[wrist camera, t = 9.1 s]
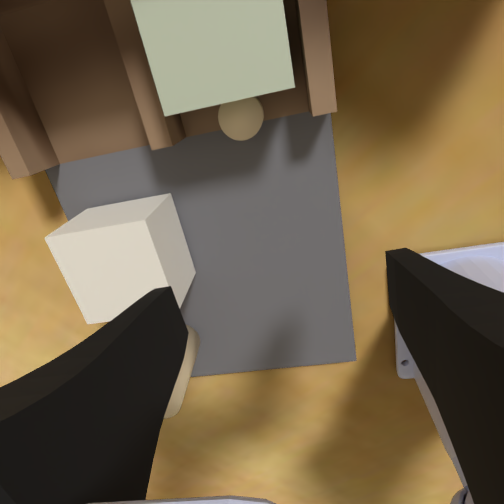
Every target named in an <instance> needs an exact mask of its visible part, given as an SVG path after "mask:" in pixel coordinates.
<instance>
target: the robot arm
mask: <svg viewBox="0 0 504 504" xmlns="http://www.w3.org/2000/svg"><path fill="white" fill-rule="evenodd" d="M385 252H386V265H387V278H388V292H389V305H390V308H391V311H392V313H393V316H394V324H395V348H396V371H397V374H398V376H399V377H400V378H402V379H409V378H415V381H416V383H417V385H418V387H419V390H420V392H421V394H422V397H423V399H424V401H425V404H426V406H427V408H428V410H429V413H430V415H431V417H432V420H433V422H434V424H435V427H436V429H437V431H438V433H439V436H440V438H441V440H442V443H443V445H444V447H445V449H446V451H447V453H448V455H449V457H450V458H451V460H452V462H453V464H454V466H455V468H456V471H457V473H458V475H459V477H460V480H461V482H462V484H463V486H464V488H463V489H461V490H459V491H458V492H457V493H456V494H455V495H454V496H453V498H452V500H451V503H450V504H504V242H499V243H492V244H484V245H477V246H470V247H463V248H456V249H449V250H442V251H435V252H427V253H420V254H418V253H416V252H414V251H412V250H410V249H407V248H402V249H396V250H390V251H385ZM188 334H189V332H188V329H187V327H186V324H185V322H184V319H183V316H182V314H181V311H180V308H179V306H178V303H177V301H176V298H175V295H174V293H173V290H172V288H171V286H168V287H162V288H156V289H153V290H152V291H150V292H148V293H147V294H145V295H144V296H143V297H141V298H140V299H139V300H137V301H136V302H135V303H133V304H132V305H131V306H129V307H128V308H127V309H126V310H124V311H123V312H122V313H120V314H119V315H118V316H116V317H115V318H114V319H113V320H111V321H110V322H109V323H107V324H106V325H105V326H103V327H102V328H100V329H99V330H98V331H96V332H95V333H93V334H92V335H91V336H89V337H88V338H87V339H85V340H84V341H82V342H81V343H79V344H78V345H76V346H75V347H73V348H72V349H70V350H68V351H67V352H65V353H64V354H62V355H60V356H59V357H57V358H55V359H54V360H52V361H50V362H49V363H47V364H45V365H43V366H41V367H39V368H37V369H36V370H34V371H32V372H30V373H28V374H26V375H24V376H23V377H21V378H19V379H17V380H15V381H13V382H11V383H9V384H7V385H4V386H2V387H0V504H276V503H273V502H271V501H269V500H267V499H260V498H251V497H241V496H214V497H195V498H176V499H158V500H145V499H146V493H147V488H148V483H149V478H150V473H151V468H152V463H153V458H154V454H155V450H156V445H157V441H158V437H159V432H160V428H161V425H162V422H163V418H164V415H165V412H166V409H167V407H168V404H169V401H170V398H171V395H172V392H173V389H174V386H175V384H176V381H177V378H178V375H179V372H180V369H181V366H182V363H183V360H184V356H185V351H186V346H187V340H188ZM403 360H406V361H404V362H402V361H403Z"/></svg>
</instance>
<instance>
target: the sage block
mask: <svg viewBox="0 0 504 504" xmlns="http://www.w3.org/2000/svg"><path fill="white" fill-rule="evenodd" d="M130 1H131V4H132V7H133V11H134V14H135V18H136V21H137V24H138V28H139V31H140V35H141V38H142V41H143V45H144V48H145V52H146V55H147V58H148V62H149V65H150V68H151V72H152V75H153V79H154V82H155V85H156V89H157V92H158V96H159V99H160V102H161V106H162V109H163V113H164V116H169V115H174V114H178V113H183V112H187V111H192V110H196V109H201V108H205V107H210V106H214V105H219V104H221V106H220V108H219V112H218V121H219V125H220V127H221V129H222V131H223V132H224V133H225V134H226V135H227V136H228V137H230V138H232V139H234V140H239V141H243V140H248V139H250V138H252V137H253V136H254V135H256V134H257V132H258V131H259V129H260V127H261V125H262V123H263V119H264V110H263V107H262V104H261V102H260V101H259V99H258V98H257V97H255V96H259V95H263V94H268V93H272V92H277V91H281V90H286V89H290V88H295V84H294V76H293V69H292V62H291V55H290V48H289V41H288V34H287V27H286V20H285V13H284V5H283V0H130Z"/></svg>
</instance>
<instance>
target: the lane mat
mask: <svg viewBox="0 0 504 504" xmlns="http://www.w3.org/2000/svg"><path fill="white" fill-rule="evenodd" d="M45 171H46V173H47V176H48V178H49V180H50V182H51V184H52V186H53V189H54V191H55V193H56V195H57V197H58V199H59V202H60V204H61V206H62V208H63V210H64V213H65V215H66V217H67V219H68V221H70V220H71V219H73V218H74V217H75V216H77V215H78V214H80V213H81V212H83V211H84V210H86V209H88V208H93V207H98V206H104V205H109V204H114V203H120V202H125V201H131V200H136V199H141V198H147V197H152V196H157V195H163V194H168V193H171V195H172V198H173V202H174V205H175V208H176V211H177V214H178V218H179V221H180V224H181V227H182V230H183V233H184V237H185V240H186V243H187V246H188V249H189V252H190V256H191V259H192V262H193V265H194V268H195V272H196V273H195V276H194V278H193V280H192V283H191V285H190V287H189V289H188V292H187V294H186V296H185V298H184V301H183V303H182V305H181V307H180V311H181V314H182V316H183V319H184V322H185V324H186V325H188V326H190V327H192V328H193V329H194V330H195V331H196V332H197V333H198V335H199V337H200V347H199V350H198V353H197V356H196V360H195V363H194V366H193V369H192V373H191V376H190V377H195V376H206V375H216V374H226V373H236V372H247V371H257V370H267V369H278V368H288V367H298V366H308V365H319V364H329V363H339V362H350V361H356V351H355V342H354V332H353V322H352V313H351V303H350V294H349V284H348V274H347V265H346V255H345V246H344V236H343V226H342V217H341V207H340V198H339V188H338V179H337V169H336V159H335V150H334V140H333V131H332V121H331V113H328V114H323V115H319V116H314V117H313V116H312V115H311V113H310V112H309V111H308V112H303V113H298V114H294V115H289V116H284V117H280V118H275V119H270V120H265V121H263V123H262V125H261V127H260V129H259V131H258V132H257V134H256V135H254V136H253V137H252V138H250V139H248V140H243V141H239V140H234V139H232V138H230V137H228V136H227V135H226V134H225V133H224V132H223V131H222V130H218V131H213V132H209V133H204V134H199V135H194V136H190V137H186V138H184V139H183V140H181V141H180V142H178V143H177V144H175V145H173V146H170V147H165V148H160V149H156V150H152V149H151V146H150V145H147V146H142V147H138V148H133V149H128V150H124V151H119V152H114V153H109V154H105V155H100V156H95V157H90V158H86V159H81V160H76V161H71V162H67V163H62V164H59V165H56V166H54V167H51V168H49V169H46V170H45Z"/></svg>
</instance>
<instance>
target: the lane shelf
mask: <svg viewBox="0 0 504 504" xmlns="http://www.w3.org/2000/svg"><path fill="white" fill-rule="evenodd" d="M283 5H284V13H285V20H286V27H287V34H288V41H289V48H290V55H291V62H292V69H293V76H294V84H295V88H290V89H286V90H281V91H277V92H272V93H268V94H263V95H259V96H255V97H257V98H258V99H259V101H260V102H261V104H262V107H263V110H264V119H263V121H265V120H270V119H275V118H280V117H284V116H289V115H294V114H298V113H303V112H308V111H309V112H310V113H311V115H312V116H313V117H314V116H319V115H323V114H328V113H333V112H337V104H336V94H335V83H334V73H333V63H332V52H331V42H330V32H329V21H328V11H327V1H326V0H283ZM220 106H221V104H219V105H214V106H210V107H205V108H201V109H196V110H192V111H187V112H183V113H178V114H174V115H169V116H164V113H163V109H162V106H161V102H160V99H159V96H158V92H157V89H156V85H155V82H154V79H153V75H152V72H151V68H150V65H149V62H148V58H147V55H146V52H145V48H144V45H143V41H142V38H141V35H140V31H139V28H138V24H137V21H136V18H135V14H134V11H133V7H132V4H131V1H130V0H0V156H1V158H2V160H3V162H4V164H5V166H6V168H7V170H8V172H9V174H10V176H11V178H12V179H17V178H21V177H26V176H31V175H33V174H36V173H38V172H41V171H43V170H46V169H49V168H51V167H54V166H56V165H59V164H62V163H67V162H71V161H76V160H81V159H86V158H90V157H95V156H100V155H105V154H109V153H114V152H119V151H124V150H128V149H133V148H138V147H142V146H147V145H150V146H151V149H152V150H156V149H160V148H165V147H170V146H173V145H175V144H177V143H178V142H180V141H181V140H183V139H184V138H186V137H190V136H194V135H199V134H204V133H209V132H213V131H218V130H222V129H221V127H220V125H219V121H218V112H219V108H220Z"/></svg>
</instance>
